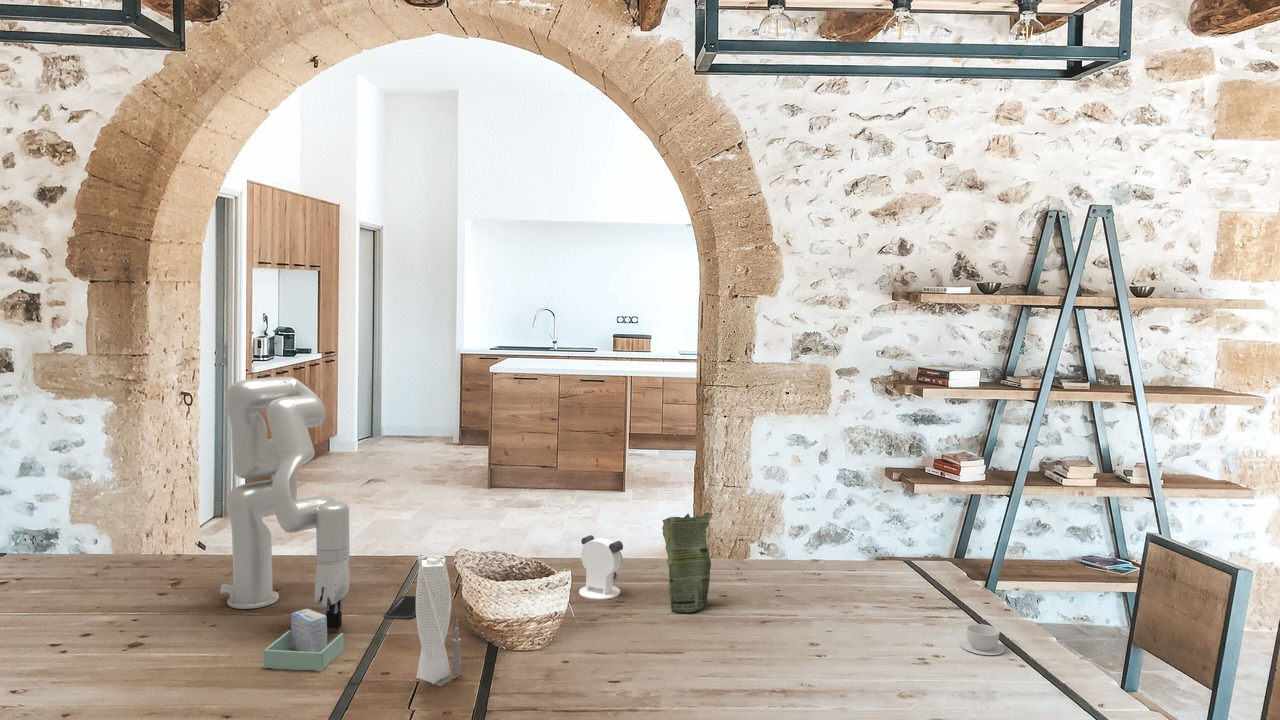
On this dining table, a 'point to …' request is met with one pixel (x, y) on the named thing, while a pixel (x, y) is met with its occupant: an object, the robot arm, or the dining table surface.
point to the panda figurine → (600, 567)
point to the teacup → (982, 640)
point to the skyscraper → (435, 621)
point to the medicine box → (308, 631)
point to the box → (300, 655)
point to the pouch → (687, 561)
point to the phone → (403, 609)
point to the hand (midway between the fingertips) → (333, 627)
